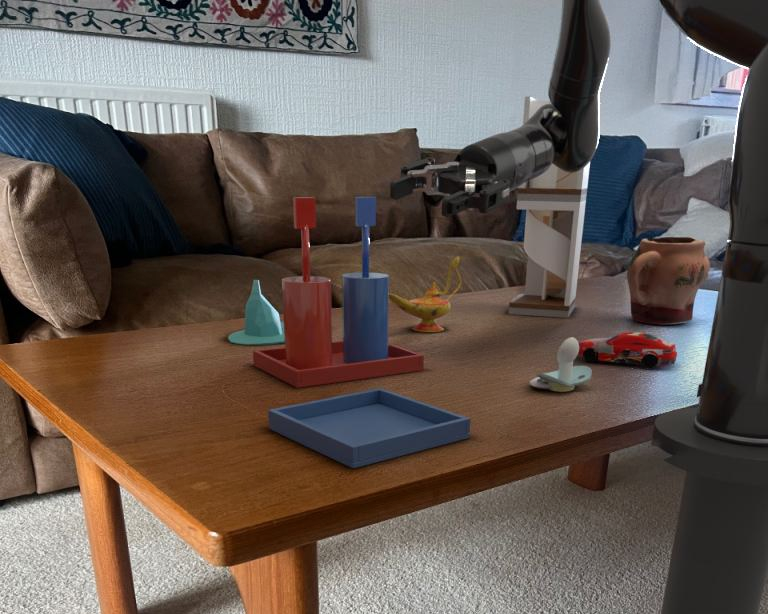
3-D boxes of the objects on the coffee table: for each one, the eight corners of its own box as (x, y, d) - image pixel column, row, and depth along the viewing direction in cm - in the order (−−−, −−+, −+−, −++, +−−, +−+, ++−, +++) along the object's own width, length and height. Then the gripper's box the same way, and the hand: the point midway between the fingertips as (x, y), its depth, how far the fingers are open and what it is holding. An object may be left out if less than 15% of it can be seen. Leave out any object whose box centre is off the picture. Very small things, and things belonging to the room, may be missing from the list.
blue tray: (379, 405, 86) (380, 387, 86) (469, 438, 76) (470, 418, 75) (268, 428, 78) (267, 409, 77) (353, 468, 68) (352, 447, 67)
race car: (571, 361, 107) (574, 332, 106) (580, 354, 112) (583, 325, 110) (671, 372, 102) (676, 341, 101) (677, 363, 107) (681, 334, 105)
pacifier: (517, 387, 95) (555, 397, 90) (520, 335, 92) (559, 342, 88) (559, 379, 99) (596, 388, 94) (563, 329, 96) (602, 335, 92)
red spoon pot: (319, 360, 104) (315, 196, 96) (340, 370, 99) (338, 198, 91) (277, 365, 101) (270, 196, 93) (298, 375, 96) (292, 198, 88)
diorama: (346, 327, 128) (346, 273, 125) (270, 349, 112) (267, 287, 109) (287, 320, 134) (285, 267, 130) (206, 339, 118) (202, 280, 115)
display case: (518, 304, 152) (534, 101, 138) (574, 308, 149) (596, 101, 135) (508, 313, 142) (524, 96, 128) (567, 317, 139) (591, 95, 125)
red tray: (371, 351, 112) (371, 337, 111) (423, 370, 102) (424, 355, 101) (253, 365, 103) (252, 350, 102) (297, 388, 93) (296, 371, 92)
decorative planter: (665, 335, 125) (679, 244, 119) (596, 325, 132) (607, 238, 127) (715, 320, 138) (729, 237, 133) (650, 311, 146) (661, 232, 140)
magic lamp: (364, 333, 123) (364, 261, 119) (444, 321, 134) (447, 254, 130) (394, 340, 119) (395, 265, 114) (474, 327, 130) (478, 257, 125)
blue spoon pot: (373, 353, 108) (374, 195, 100) (396, 362, 103) (399, 197, 95) (335, 358, 105) (332, 196, 97) (357, 367, 100) (356, 198, 92)
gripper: (455, 126, 107) (375, 156, 98) (542, 148, 100) (464, 182, 91) (452, 182, 112) (375, 215, 103) (535, 207, 105) (460, 245, 96)
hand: (417, 200), depth 97 cm, fingers open, 8 cm apart
